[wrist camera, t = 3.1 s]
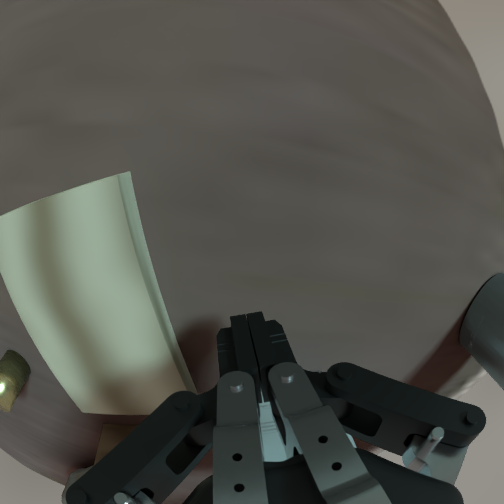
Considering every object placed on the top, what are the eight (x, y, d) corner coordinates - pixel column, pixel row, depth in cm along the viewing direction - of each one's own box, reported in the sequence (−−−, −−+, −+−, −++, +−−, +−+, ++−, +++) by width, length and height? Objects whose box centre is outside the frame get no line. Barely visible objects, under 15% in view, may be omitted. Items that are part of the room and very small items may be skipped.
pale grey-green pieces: (132, 170, 13) (117, 175, 11) (197, 387, 19) (197, 412, 17) (7, 212, 12) (-15, 223, 10) (90, 391, 18) (82, 412, 16)
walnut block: (149, 425, 20) (143, 479, 14) (167, 448, 22) (165, 496, 16) (103, 423, 20) (92, 472, 14) (124, 447, 21) (118, 491, 16)
